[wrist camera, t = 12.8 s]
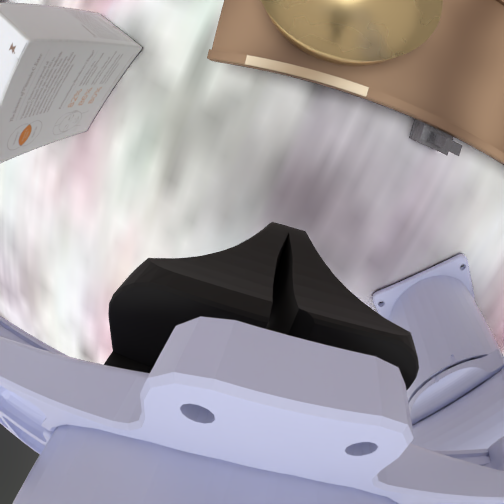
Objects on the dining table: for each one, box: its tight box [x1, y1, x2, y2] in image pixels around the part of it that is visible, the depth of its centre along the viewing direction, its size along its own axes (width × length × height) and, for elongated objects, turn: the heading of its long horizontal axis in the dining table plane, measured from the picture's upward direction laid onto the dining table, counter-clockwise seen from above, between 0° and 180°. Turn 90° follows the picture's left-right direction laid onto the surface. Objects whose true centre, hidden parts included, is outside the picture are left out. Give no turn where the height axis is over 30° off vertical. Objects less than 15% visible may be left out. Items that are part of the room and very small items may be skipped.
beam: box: [207, 0, 504, 165], centre depth 11 cm, size 26×10×2 cm, turn 77°
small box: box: [0, 3, 142, 163], centre depth 14 cm, size 8×6×10 cm
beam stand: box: [409, 119, 462, 156], centre depth 12 cm, size 2×12×4 cm, turn 167°
